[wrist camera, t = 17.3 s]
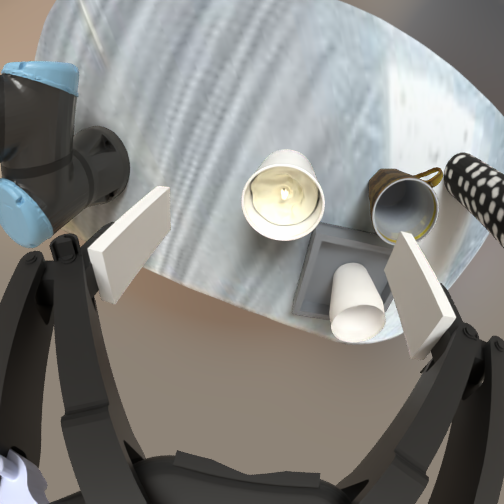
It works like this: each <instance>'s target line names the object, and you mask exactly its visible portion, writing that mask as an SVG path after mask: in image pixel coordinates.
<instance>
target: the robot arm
mask: <svg viewBox="0 0 504 504" xmlns="http://www.w3.org/2000/svg"><path fill="white" fill-rule="evenodd" d="M1 73H2V75H0V163H1V171H2V178H0V224H1V226H2V227H3V229H4V230H5V232H6V233H7V234H8V235H9V236H10V237H11V238H12V239H13V240H14V241H15V242H16V243H18V244H19V245H21V246H23V247H26V248H35V247H37V246H39V245H40V244H41V243H43V242H44V241H45V240H47V239H49V238H51V237H52V236H53V235H54V234H55V233H56V232H57V231H58V230H59V229H61V228H62V227H63V226H64V225H65V224H67V223H68V222H69V221H70V220H71V219H73V218H74V217H75V216H76V215H77V214H79V213H80V212H81V211H82V210H84V209H85V208H86V207H90V206H95V205H99V204H104V203H107V202H109V201H111V200H112V199H114V198H115V197H116V196H118V195H119V194H120V193H121V192H122V191H123V189H124V188H125V186H126V184H127V181H128V178H129V158H128V154H127V151H126V149H125V146H124V145H123V143H122V141H121V140H120V138H119V137H118V136H117V135H116V134H115V133H114V132H112V131H111V130H109V129H107V128H105V127H101V126H93V127H89V128H86V129H84V130H81V131H80V132H78V133H77V134H75V135H74V122H75V111H76V103H77V97H78V92H77V91H78V81H79V70H78V68H77V67H76V66H75V65H73V64H70V63H63V62H48V61H29V62H12V63H7V64H5V66H4V68H3V69H2V72H1ZM73 135H74V136H73ZM170 230H171V223H170V187H163V186H157V187H156V188H154V189H153V190H152V191H151V192H150V193H148V194H147V195H146V196H145V197H144V198H142V199H141V200H140V201H139V202H138V203H136V204H135V205H134V206H133V207H132V208H131V209H130V210H128V211H127V212H126V213H125V214H124V215H123V216H122V217H120V218H119V219H118V220H117V221H116V222H111V223H109V224H107V225H105V226H103V227H102V228H101V229H100V230H99V231H98V232H97V233H95V234H94V235H93V236H92V237H91V238H90V239H89V240H88V241H87V242H86V243H85V244H84V245H83V246H82V247H81V248H80V245H79V241H78V237H77V236H76V235H74V234H64V235H61V236H58V237H57V238H55V239H54V240H53V241H52V242H51V244H50V249H51V252H52V255H53V259H54V261H45V260H44V257H43V254H42V252H40V251H33V252H29V253H27V254H26V255H24V256H23V257H22V258H21V260H20V261H19V263H18V265H17V267H16V269H15V271H14V274H13V276H12V278H11V280H10V282H9V284H8V286H7V288H6V291H5V293H4V296H3V298H2V300H1V303H0V504H415V503H416V501H417V500H418V498H419V497H420V495H421V494H422V492H423V491H424V489H425V488H426V486H427V483H428V481H429V477H428V476H427V475H426V471H427V469H428V467H429V465H430V463H431V462H432V460H433V458H434V456H435V454H436V453H437V451H438V449H439V447H440V445H441V443H442V441H443V439H444V437H445V435H446V433H447V431H448V428H449V426H450V423H451V422H452V425H451V429H450V434H449V438H448V443H447V446H446V451H445V454H444V458H443V461H442V465H441V468H440V471H439V474H438V477H437V480H436V483H435V486H434V489H433V492H432V494H431V497H430V499H429V502H428V504H497V503H498V499H499V495H500V491H501V487H502V482H503V477H504V341H503V340H502V339H501V338H499V337H498V336H492V337H491V338H490V340H489V341H488V342H485V341H482V340H480V339H479V336H478V333H477V331H476V330H475V329H474V328H473V327H472V326H471V325H469V324H468V323H464V322H463V321H462V319H461V317H460V315H459V312H458V310H457V308H456V306H455V305H454V302H453V300H452V299H451V296H450V294H449V292H448V290H447V289H446V288H445V287H444V286H443V285H442V283H439V281H438V279H437V277H436V275H435V273H434V272H433V270H432V268H431V266H430V264H429V263H428V261H427V259H426V257H425V255H424V254H423V252H422V250H421V249H420V247H419V245H418V244H417V242H416V240H415V239H414V237H413V235H412V234H410V233H406V232H402V231H400V234H399V236H398V239H397V241H396V243H395V246H394V248H393V251H392V253H391V255H390V258H389V260H388V262H387V264H386V267H385V269H384V271H385V274H386V277H387V280H388V283H389V286H390V289H391V292H392V295H393V298H394V301H395V304H396V308H397V311H398V314H399V317H400V321H401V324H402V328H403V331H404V335H405V339H406V342H407V346H408V350H409V354H410V358H411V359H420V360H424V359H425V357H426V356H427V355H428V354H429V353H430V351H431V353H432V357H433V358H432V359H431V360H430V362H429V363H428V364H427V365H426V366H425V367H424V368H423V370H422V371H421V372H420V373H423V374H422V375H421V377H420V379H419V381H418V382H417V384H416V386H415V388H414V389H413V391H412V393H411V394H410V396H409V397H408V399H407V401H406V402H405V404H404V405H403V407H402V408H401V410H400V411H399V413H398V414H397V416H396V417H395V419H394V420H393V422H392V423H391V424H390V426H389V427H388V429H387V430H386V431H385V433H384V434H383V435H382V437H381V438H380V439H379V441H378V442H377V443H376V445H375V446H374V447H373V448H372V450H371V451H370V452H369V453H368V455H367V456H366V457H365V458H364V459H363V460H362V462H361V463H360V464H359V465H358V466H357V468H356V469H355V470H354V471H353V472H352V473H351V474H349V475H348V476H347V477H345V478H344V479H343V480H342V481H340V482H339V483H338V484H337V485H336V486H335V485H333V484H331V483H329V482H326V481H324V480H321V479H320V473H305V472H290V471H285V472H276V473H268V474H256V475H247V474H243V473H241V472H239V471H236V470H234V469H232V468H229V467H227V466H225V465H223V464H221V463H218V462H216V461H214V460H212V459H208V458H203V457H199V456H196V455H192V454H188V453H184V452H181V451H178V450H177V452H176V456H172V455H167V456H156V457H151V458H147V459H146V458H145V455H144V453H143V451H142V449H141V447H140V445H139V444H138V442H137V440H136V438H135V436H134V434H133V432H132V429H131V427H130V424H129V422H128V419H127V416H126V414H125V411H124V408H123V405H122V402H121V399H120V396H119V394H118V390H117V387H116V384H115V380H114V377H113V374H112V370H111V367H110V363H109V359H108V356H107V352H106V348H105V344H104V339H103V335H102V331H101V327H100V321H99V316H98V311H97V306H96V301H95V298H94V295H95V294H96V293H97V291H98V290H99V294H100V297H101V300H103V301H106V302H109V303H112V304H116V302H117V301H118V300H119V298H120V297H121V295H122V294H123V293H124V291H125V290H126V288H127V287H128V285H129V284H130V283H131V281H132V280H133V279H134V277H135V276H136V274H137V273H138V272H139V270H140V269H141V268H142V266H143V265H144V264H145V262H146V261H147V260H148V258H149V257H150V256H151V254H152V253H153V252H154V250H155V249H156V248H157V247H158V245H159V244H160V243H161V241H162V240H163V239H164V238H165V236H166V235H167V234H168V233H169V231H170ZM53 326H54V330H55V344H56V355H57V364H58V372H59V379H60V385H61V392H62V397H63V402H64V407H65V415H64V416H62V417H61V427H62V432H63V436H64V440H65V443H66V447H67V451H68V454H69V458H70V461H71V464H72V467H73V470H74V473H75V476H76V479H77V481H78V484H79V487H80V490H81V491H79V492H76V493H74V494H71V495H69V496H67V497H64V498H61V499H59V500H57V501H54V502H51V503H49V501H48V500H47V498H46V495H45V492H44V491H45V490H46V489H47V482H46V480H45V478H44V477H43V476H42V473H41V472H40V470H39V469H38V468H39V462H40V453H41V420H42V403H43V391H44V381H45V372H46V366H47V359H48V353H49V347H50V341H51V336H52V331H53ZM483 380H484V381H483ZM482 381H483V383H482Z"/></svg>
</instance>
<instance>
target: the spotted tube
mask: <svg viewBox="0 0 504 504" xmlns="http://www.w3.org/2000/svg"><path fill="white" fill-rule="evenodd" d="M444 182H445V186H446V188H447V190H448V192H449V193H450V194H451V195H452V196H453V197H454V198H456V199H457V200H458V201H459V202H460V203H461V204H462V205H463V206H464V207H465V208H466V209H467V210H468V211H469V212H470V213H471V214H472V215H473V216H474V217H475V218H476V219H477V220H478V221H479V222H480V223H481V224H482V225H483V226H484V227H485V228H486V229H487V230H488V231H489V232H490V233H491V234H492V235H493V236H494V238H495V239H496V240H497V241H498V242H499V243H500V244H501V245H502V246H503V248H504V174H502V173H501V172H499V171H498V170H496V169H494V168H493V167H491V166H489V165H488V164H486V163H484V162H483V161H481V160H479V159H477V158H476V157H474V156H472V155H470V154H468V153H458V154H456V155H454V156H453V157H452V158H451V159H450V160H449V162H448V163H447V165H446V168H445V172H444Z"/></svg>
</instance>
